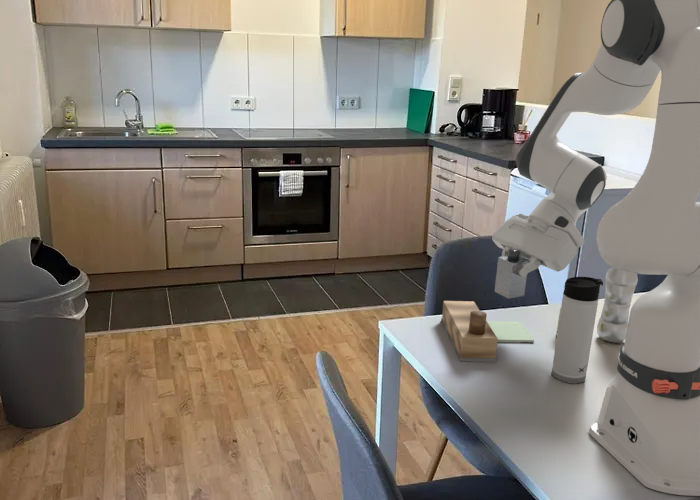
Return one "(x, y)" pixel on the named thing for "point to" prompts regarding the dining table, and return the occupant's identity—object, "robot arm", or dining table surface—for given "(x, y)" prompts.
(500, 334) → the felt mat
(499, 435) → the dining table surface
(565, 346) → the travel mug
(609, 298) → the plastic bottle
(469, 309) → the plane body
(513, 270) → the lever cap
